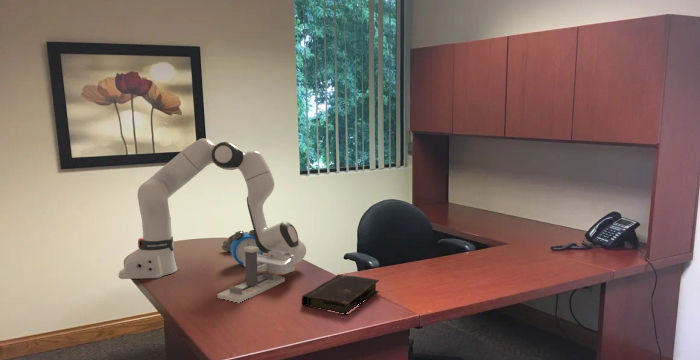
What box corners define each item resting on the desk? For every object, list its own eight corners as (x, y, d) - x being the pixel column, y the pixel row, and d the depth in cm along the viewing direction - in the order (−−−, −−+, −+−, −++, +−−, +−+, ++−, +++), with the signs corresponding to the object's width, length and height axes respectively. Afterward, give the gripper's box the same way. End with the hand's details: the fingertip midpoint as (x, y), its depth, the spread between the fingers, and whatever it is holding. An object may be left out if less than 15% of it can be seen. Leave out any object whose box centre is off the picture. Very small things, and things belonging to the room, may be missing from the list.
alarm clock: (234, 268, 210) (232, 233, 208) (230, 264, 215) (229, 230, 213) (264, 264, 215) (263, 230, 213) (260, 260, 221) (259, 227, 219)
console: (264, 277, 198) (264, 268, 198) (284, 281, 193) (284, 272, 193) (217, 298, 176) (217, 288, 176) (238, 303, 171) (238, 293, 171)
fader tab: (250, 282, 187) (249, 245, 185) (259, 284, 185) (258, 247, 183) (244, 285, 184) (242, 248, 182) (253, 287, 181) (252, 249, 180)
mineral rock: (220, 252, 234) (219, 231, 233) (234, 246, 244) (233, 227, 242) (243, 255, 229) (242, 234, 228) (256, 249, 239) (255, 229, 237)
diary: (301, 308, 169) (300, 294, 168) (337, 285, 190) (336, 273, 190) (349, 318, 160) (348, 303, 159) (381, 293, 182) (381, 280, 181)
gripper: (256, 248, 201) (232, 257, 189) (297, 255, 191) (275, 265, 179) (257, 263, 202) (233, 273, 190) (297, 271, 192) (275, 282, 180)
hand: (254, 269), depth 185 cm, fingers closed, pressing on fader tab
